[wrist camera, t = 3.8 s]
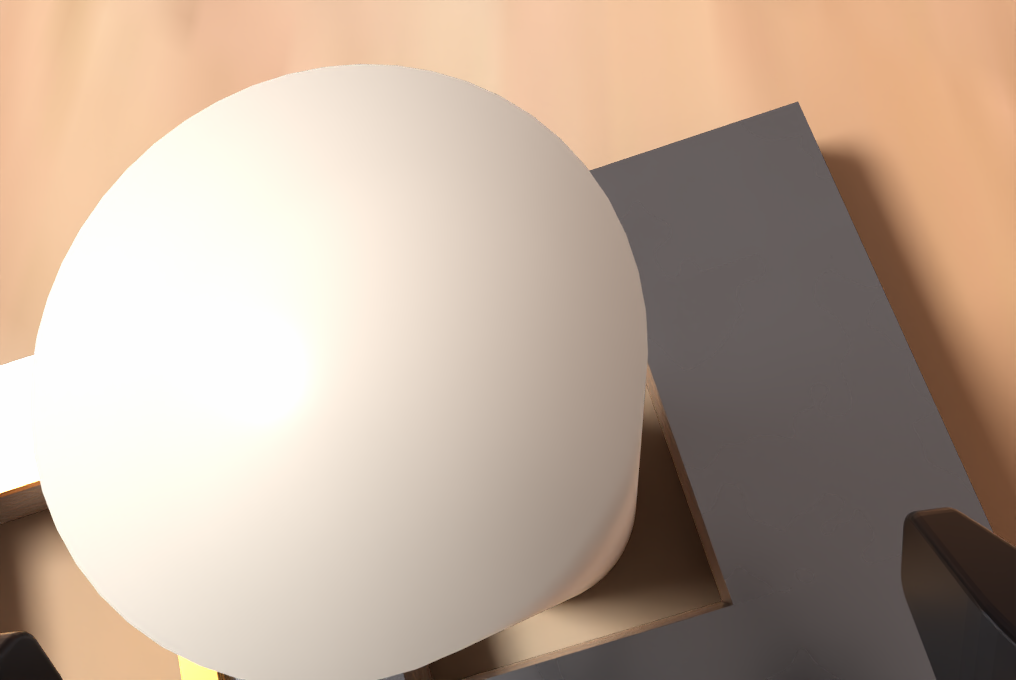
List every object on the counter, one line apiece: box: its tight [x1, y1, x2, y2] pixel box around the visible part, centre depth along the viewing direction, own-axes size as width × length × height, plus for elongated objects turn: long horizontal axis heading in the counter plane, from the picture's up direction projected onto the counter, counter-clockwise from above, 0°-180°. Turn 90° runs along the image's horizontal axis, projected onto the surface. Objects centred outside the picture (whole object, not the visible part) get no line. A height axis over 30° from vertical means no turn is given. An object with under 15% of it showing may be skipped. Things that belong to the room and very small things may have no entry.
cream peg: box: [30, 64, 648, 680], centre depth 12 cm, size 4×4×13 cm
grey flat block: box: [0, 102, 993, 680], centre depth 17 cm, size 26×12×2 cm, turn 106°
